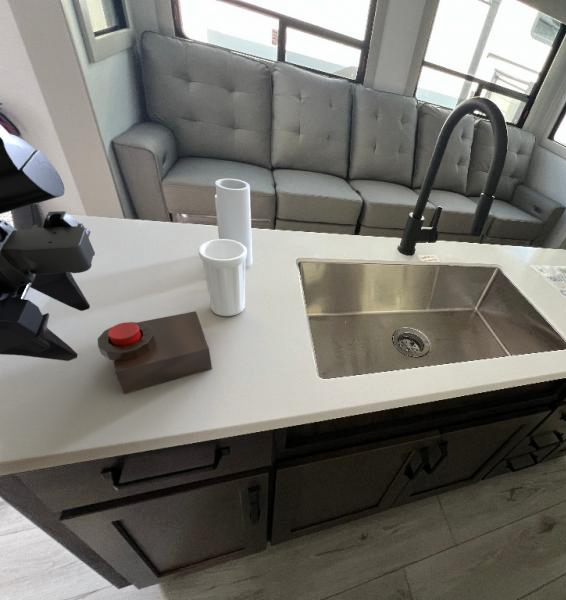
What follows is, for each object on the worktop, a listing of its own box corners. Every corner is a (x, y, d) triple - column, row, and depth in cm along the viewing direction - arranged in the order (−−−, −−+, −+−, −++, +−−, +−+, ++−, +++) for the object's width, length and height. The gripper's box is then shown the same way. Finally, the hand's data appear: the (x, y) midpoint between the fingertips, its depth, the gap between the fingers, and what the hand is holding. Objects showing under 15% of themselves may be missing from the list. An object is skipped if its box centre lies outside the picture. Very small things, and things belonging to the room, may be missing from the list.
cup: (210, 295, 71) (202, 236, 63) (251, 296, 74) (248, 240, 65) (203, 320, 65) (193, 259, 57) (247, 320, 68) (244, 262, 59)
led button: (112, 349, 48) (108, 341, 47) (110, 333, 50) (107, 325, 49) (142, 343, 50) (140, 334, 49) (139, 328, 52) (137, 319, 51)
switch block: (113, 397, 49) (99, 366, 45) (109, 351, 55) (96, 320, 51) (212, 368, 57) (207, 340, 53) (199, 331, 63) (194, 303, 59)
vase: (253, 268, 82) (251, 191, 70) (221, 269, 79) (212, 188, 67) (250, 245, 89) (247, 172, 78) (220, 245, 86) (212, 169, 75)
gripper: (10, 250, 26) (144, 357, 38) (60, 167, 38) (150, 267, 50) (-169, 307, 24) (32, 403, 35) (-55, 199, 36) (68, 296, 47)
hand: (80, 331), depth 42 cm, fingers open, 9 cm apart
